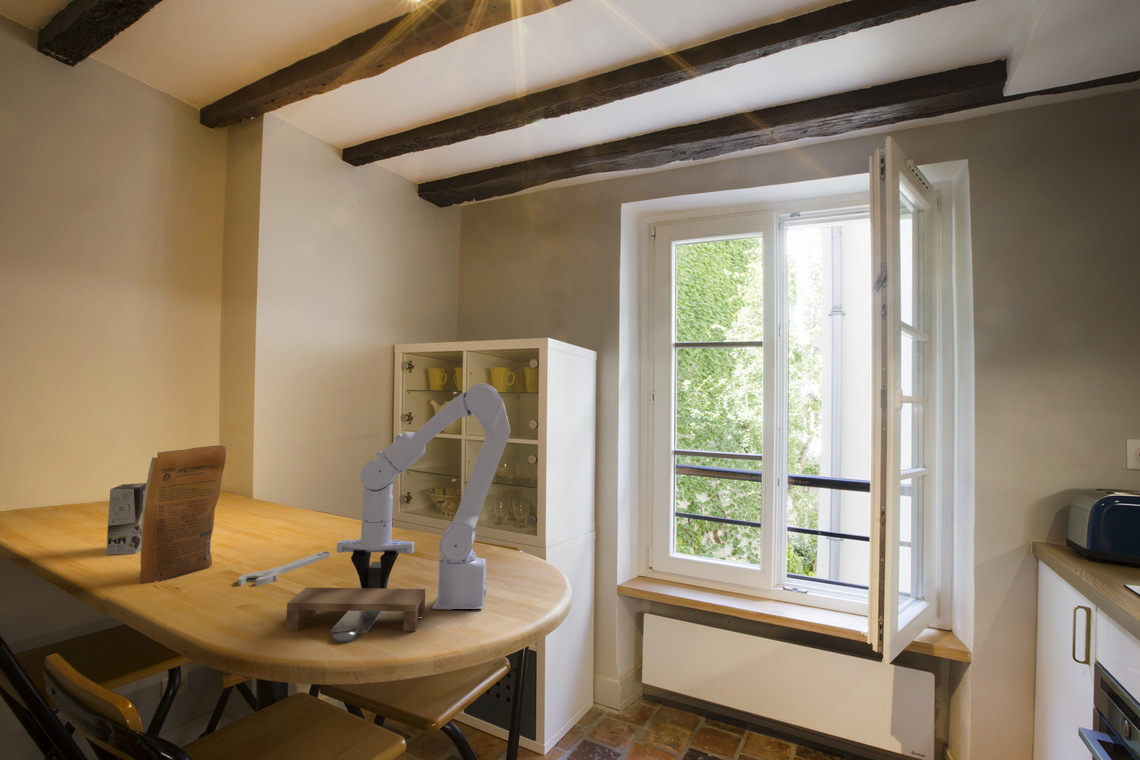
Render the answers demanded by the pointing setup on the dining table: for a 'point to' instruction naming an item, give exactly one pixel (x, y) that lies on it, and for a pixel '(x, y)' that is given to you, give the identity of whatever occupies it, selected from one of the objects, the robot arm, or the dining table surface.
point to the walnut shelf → (356, 603)
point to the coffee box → (125, 519)
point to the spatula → (363, 618)
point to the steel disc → (345, 634)
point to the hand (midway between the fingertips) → (374, 589)
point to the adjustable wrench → (279, 570)
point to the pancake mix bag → (180, 512)
